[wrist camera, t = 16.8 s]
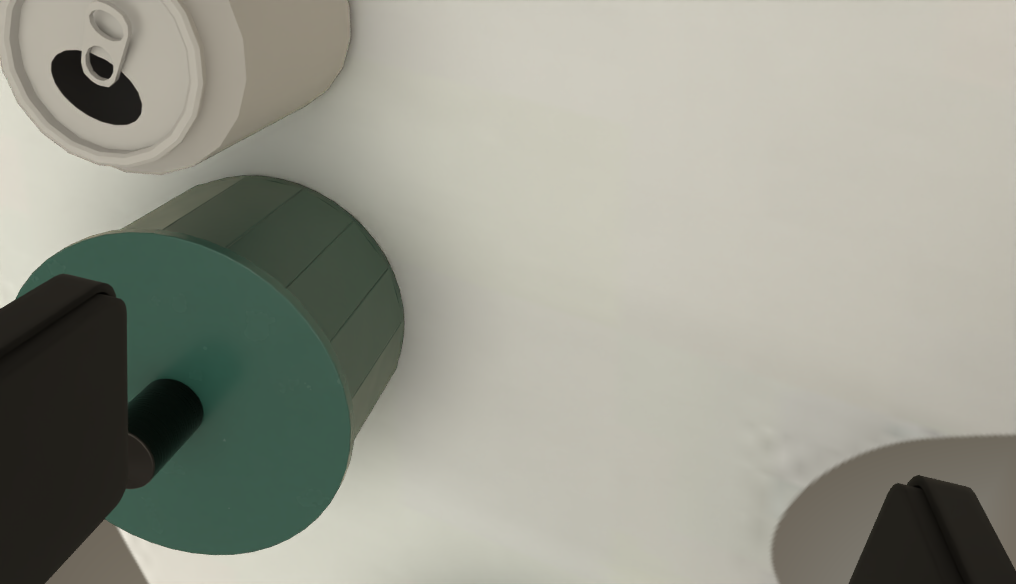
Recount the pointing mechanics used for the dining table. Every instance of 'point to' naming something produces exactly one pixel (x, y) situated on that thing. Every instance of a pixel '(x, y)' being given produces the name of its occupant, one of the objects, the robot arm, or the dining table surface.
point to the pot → (305, 266)
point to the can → (167, 72)
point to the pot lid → (217, 393)
